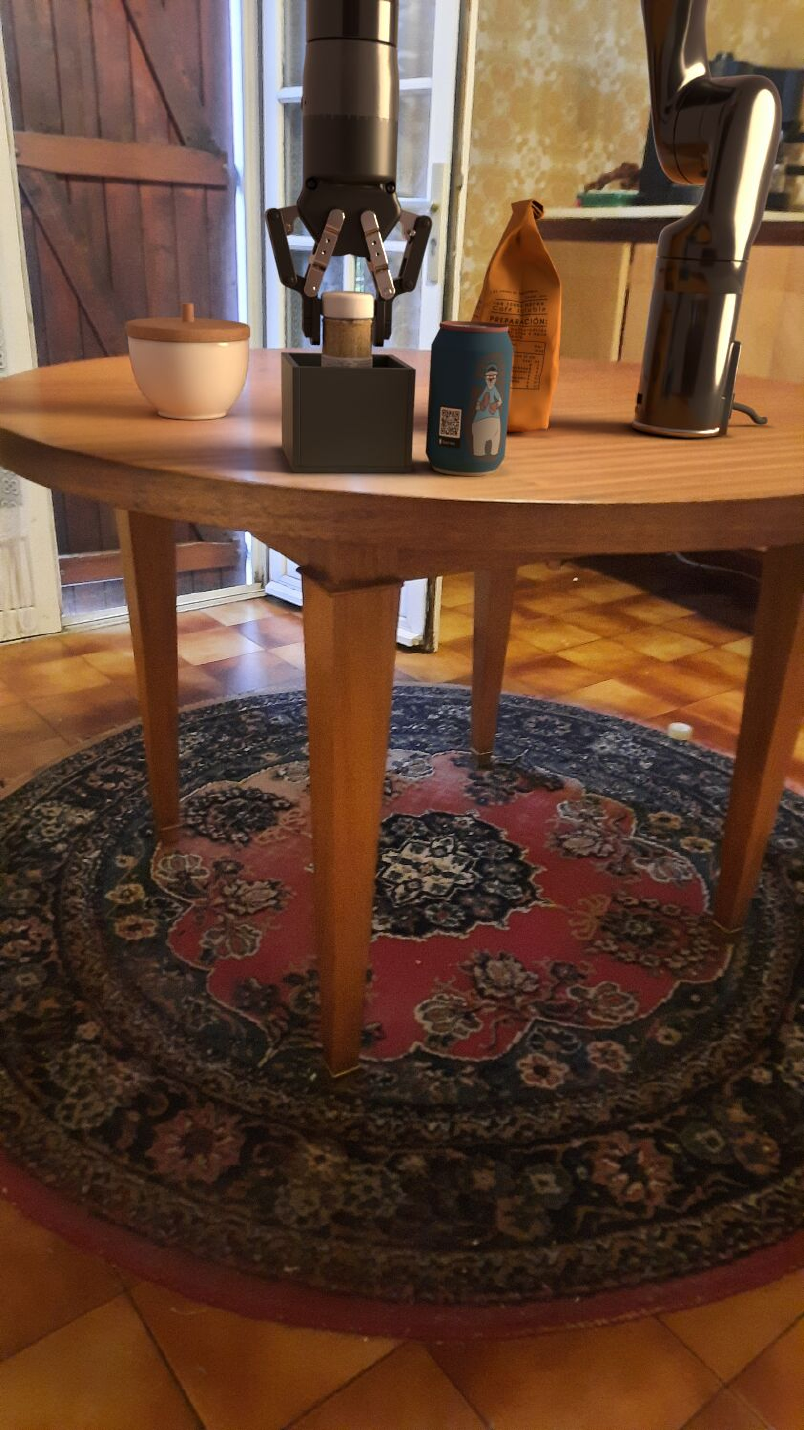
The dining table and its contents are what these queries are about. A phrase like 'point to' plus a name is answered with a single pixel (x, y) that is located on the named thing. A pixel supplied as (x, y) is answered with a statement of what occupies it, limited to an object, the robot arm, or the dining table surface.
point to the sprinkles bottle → (347, 328)
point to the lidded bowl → (189, 363)
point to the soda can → (469, 397)
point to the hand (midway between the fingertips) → (346, 344)
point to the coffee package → (525, 315)
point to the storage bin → (347, 415)
